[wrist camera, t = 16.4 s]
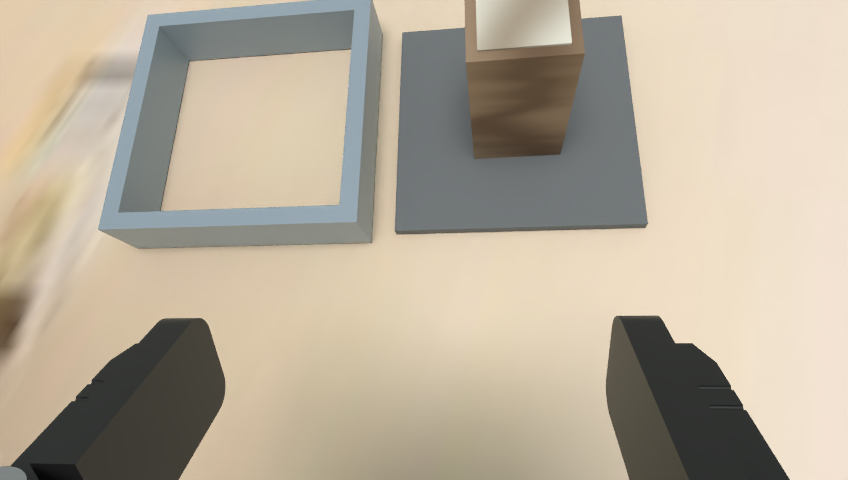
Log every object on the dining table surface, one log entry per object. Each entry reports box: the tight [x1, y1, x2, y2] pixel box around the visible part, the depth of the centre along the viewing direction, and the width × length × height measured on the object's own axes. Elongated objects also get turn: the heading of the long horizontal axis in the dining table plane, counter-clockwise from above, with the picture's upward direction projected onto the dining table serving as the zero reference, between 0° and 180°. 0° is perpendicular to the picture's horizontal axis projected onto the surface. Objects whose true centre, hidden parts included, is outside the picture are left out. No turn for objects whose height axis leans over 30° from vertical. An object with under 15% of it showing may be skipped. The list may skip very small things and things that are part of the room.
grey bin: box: [98, 0, 383, 248], centre depth 33 cm, size 15×15×4 cm
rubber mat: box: [395, 16, 648, 234], centre depth 32 cm, size 14×14×1 cm
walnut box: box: [465, 0, 585, 159], centre depth 27 cm, size 5×5×9 cm
